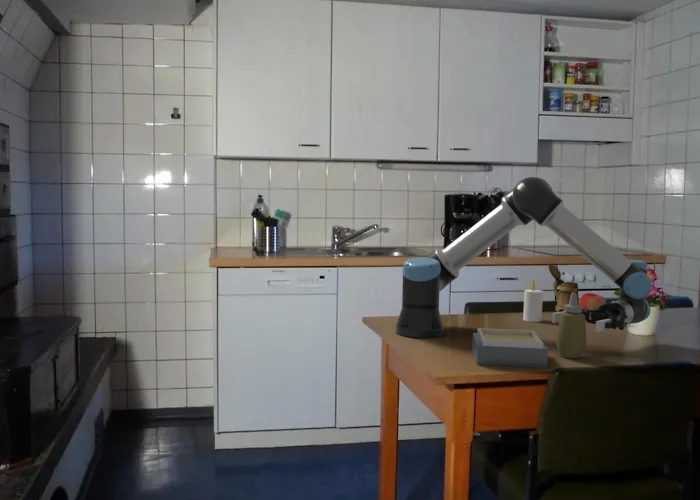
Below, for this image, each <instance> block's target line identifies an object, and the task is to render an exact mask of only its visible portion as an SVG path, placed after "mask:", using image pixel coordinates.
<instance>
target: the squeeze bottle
mask: <svg viewBox="0 0 700 500" xmlns="http://www.w3.org/2000/svg"><path fill="white" fill-rule="evenodd" d="M564 311H566V312H563V313H561V316H560V322H558V330H557V335H556V336H557V337H556V342H555V344H556V347H557V351H558V354H559V356H560V357H563V358H567V359H581V358H582V356H583V354H584V351H585V349H586V347H587V331H586V330H587V328H586V320H585V315H584V314H582V313H581V312H582V306H580V305H578V300H577V294H576V293H574V292H572V294H571V298H570V301H569V304H568V305H565V308H564Z"/></svg>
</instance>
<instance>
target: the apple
mask: <svg viewBox="0 0 700 500" xmlns="http://www.w3.org/2000/svg"><path fill="white" fill-rule="evenodd" d="M604 303H607V302H606V300H605V298H604V296H602V295H599V294H596V293H593V292H585V293H583V294H582V295H581V296H580V298H579V305H580V306H582V309H585V308H587V309H588V310H595V309H598V308H599V307H600V306H601V305H602V304H604ZM589 319H591V317H590V316H589Z"/></svg>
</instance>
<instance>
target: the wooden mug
mask: <svg viewBox="0 0 700 500" xmlns="http://www.w3.org/2000/svg"><path fill="white" fill-rule="evenodd" d="M548 271H549V273H550V275H551V277H553V278H554V280H553V281H554V282H553V284H552V285H553V286H552V289H553V290H552V291H553V292H554V296H555V298H556V301H557V303H556V304H555V312H556V313H557V312H559V309H564V308H565V305H568V304H569V301H570V298H571V294H572V292H574V293H576V294H577V300H578V305H579V302H580V298H579V292H580V288H579V285H578V282H571V281H569V282H568V281H567V282H564V279H562V278H561V277H562V275H561V271H560V270H559V268H558V267H557V266H556V265H554V264H553V263H552V262H549V264H548Z"/></svg>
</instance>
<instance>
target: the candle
mask: <svg viewBox="0 0 700 500" xmlns="http://www.w3.org/2000/svg"><path fill="white" fill-rule="evenodd" d="M530 284H531V287H530V288H531V289H524V296H523V314H522V315H523V316H522V317H523V318H522V320H523V321H525V322H529V321H530V322H532V323H541V322H542V321H543V319H542V318H543V298H544V297H543V296H544V291H543V290H539V289H536V281H535V279H534V278H532V281H531V283H530ZM540 321H541V322H540Z"/></svg>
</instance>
